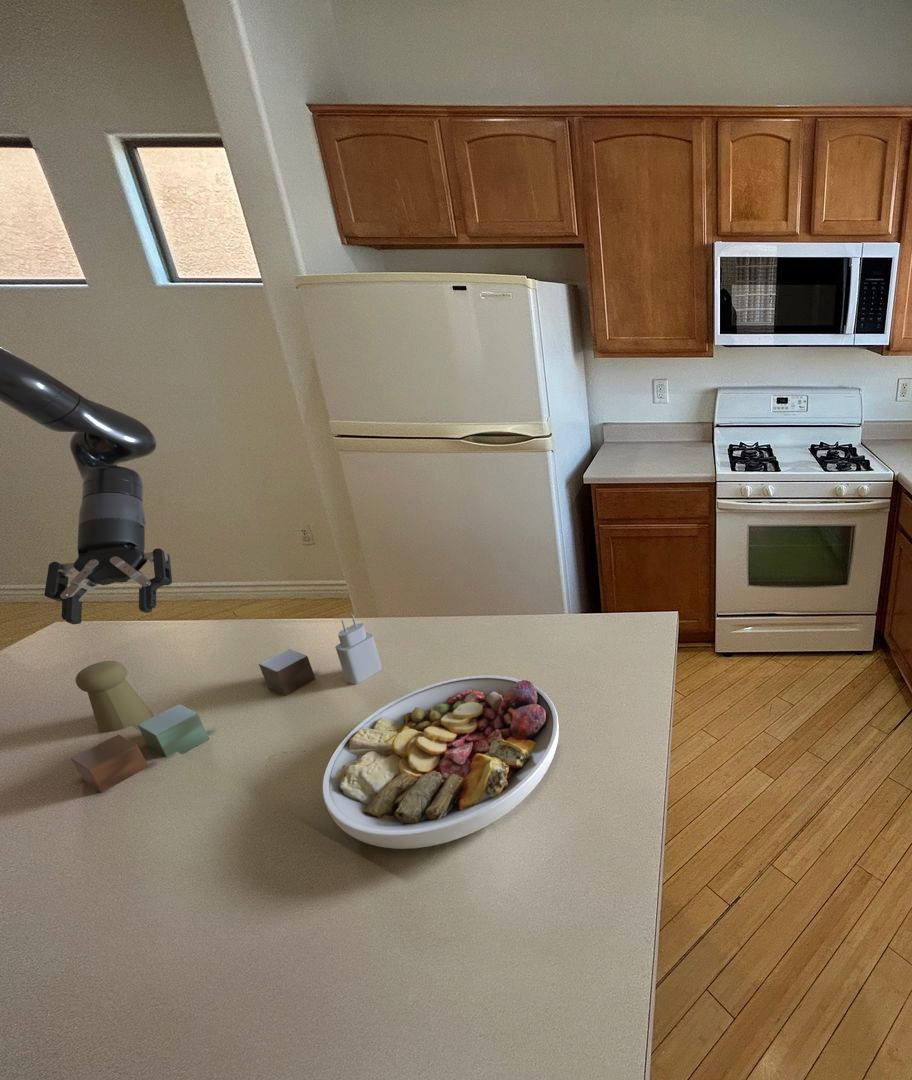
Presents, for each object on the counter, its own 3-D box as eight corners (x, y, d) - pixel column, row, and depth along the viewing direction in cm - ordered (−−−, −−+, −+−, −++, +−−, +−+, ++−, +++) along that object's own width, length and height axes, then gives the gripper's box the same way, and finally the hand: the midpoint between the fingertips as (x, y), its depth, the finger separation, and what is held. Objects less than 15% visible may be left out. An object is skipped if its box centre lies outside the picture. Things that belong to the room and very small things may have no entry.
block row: (104, 798, 75) (88, 770, 73) (86, 785, 76) (70, 758, 74) (315, 679, 98) (307, 655, 96) (297, 671, 100) (289, 648, 98)
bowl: (397, 915, 61) (380, 867, 58) (296, 781, 78) (279, 738, 74) (602, 754, 83) (599, 713, 80) (490, 676, 100) (483, 639, 96)
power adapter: (384, 668, 101) (368, 612, 96) (355, 685, 97) (337, 627, 92) (372, 663, 102) (356, 608, 97) (344, 680, 98) (325, 623, 93)
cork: (109, 717, 88) (78, 661, 84) (159, 706, 91) (131, 650, 87) (92, 742, 84) (58, 683, 79) (145, 729, 86) (115, 672, 82)
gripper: (36, 523, 87) (29, 621, 82) (155, 510, 92) (155, 600, 88) (69, 541, 93) (65, 633, 88) (179, 528, 99) (180, 613, 94)
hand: (110, 616), depth 88 cm, fingers open, 8 cm apart
